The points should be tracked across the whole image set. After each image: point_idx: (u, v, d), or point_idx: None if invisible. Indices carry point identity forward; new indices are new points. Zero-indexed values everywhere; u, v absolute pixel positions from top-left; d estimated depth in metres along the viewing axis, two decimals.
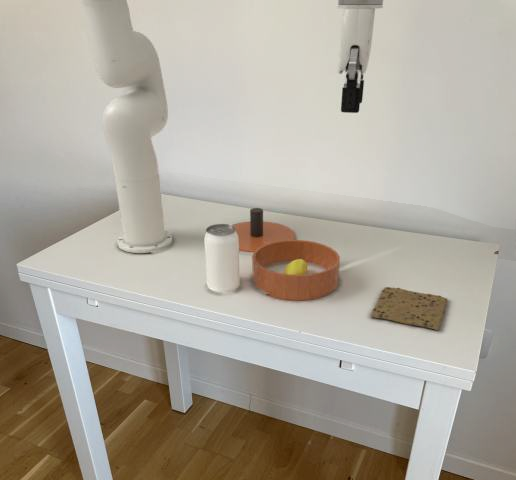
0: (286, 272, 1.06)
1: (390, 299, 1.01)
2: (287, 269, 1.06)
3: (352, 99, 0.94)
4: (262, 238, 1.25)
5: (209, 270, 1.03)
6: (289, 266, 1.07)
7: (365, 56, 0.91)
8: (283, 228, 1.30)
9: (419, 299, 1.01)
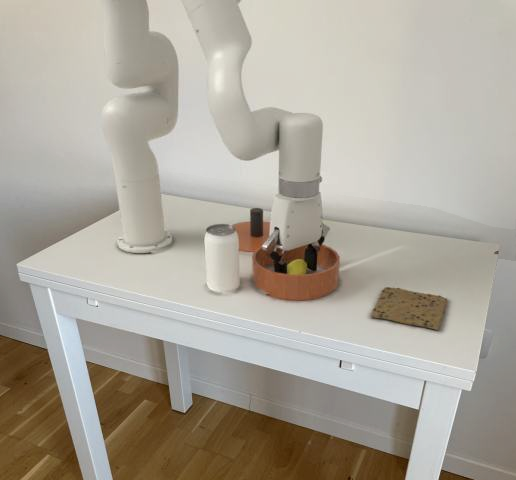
0: None
1: (390, 298, 1.01)
2: (287, 269, 1.06)
3: (277, 271, 1.05)
4: (262, 238, 1.25)
5: (209, 270, 1.03)
6: (289, 266, 1.07)
7: (284, 238, 1.00)
8: None
9: (419, 299, 1.01)
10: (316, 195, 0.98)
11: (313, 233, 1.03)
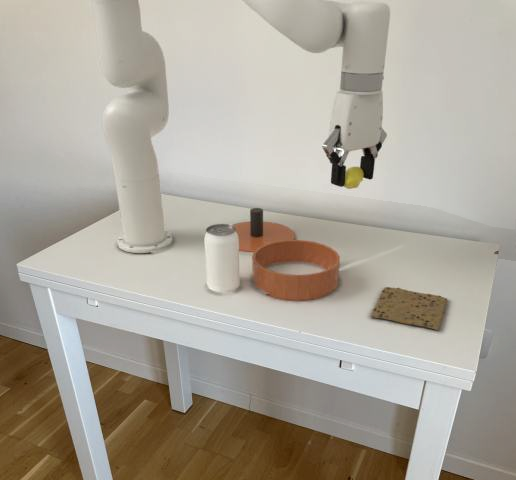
0: None
1: (390, 299, 1.01)
2: (345, 174, 1.04)
3: (335, 174, 1.03)
4: (262, 238, 1.25)
5: (209, 270, 1.03)
6: (346, 171, 1.05)
7: (345, 136, 0.98)
8: (283, 228, 1.30)
9: (419, 299, 1.01)
10: (379, 90, 0.96)
11: (373, 135, 1.02)
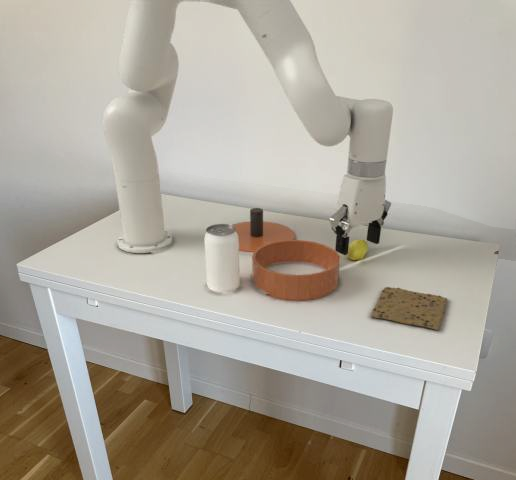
0: (350, 250, 1.15)
1: (390, 299, 1.01)
2: (351, 248, 1.15)
3: (340, 244, 1.13)
4: (262, 238, 1.25)
5: (209, 270, 1.03)
6: (352, 245, 1.16)
7: (352, 215, 1.09)
8: (283, 228, 1.30)
9: (419, 299, 1.01)
10: (383, 175, 1.07)
11: (376, 211, 1.12)
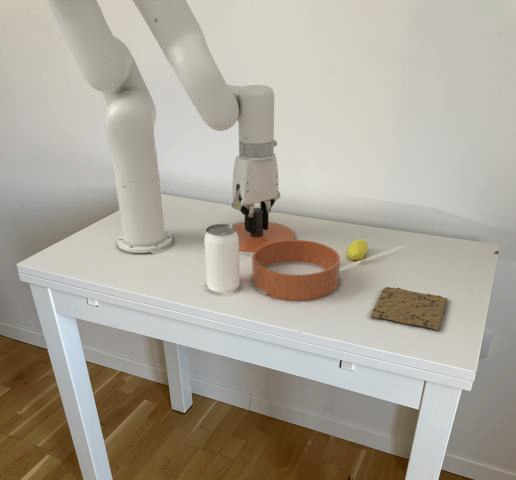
0: (350, 250, 1.15)
1: (390, 299, 1.01)
2: (351, 248, 1.15)
3: (247, 224, 1.23)
4: (262, 238, 1.25)
5: (209, 270, 1.03)
6: (352, 245, 1.16)
7: (244, 193, 1.17)
8: (283, 228, 1.30)
9: (419, 299, 1.01)
10: (270, 156, 1.15)
11: (270, 190, 1.21)
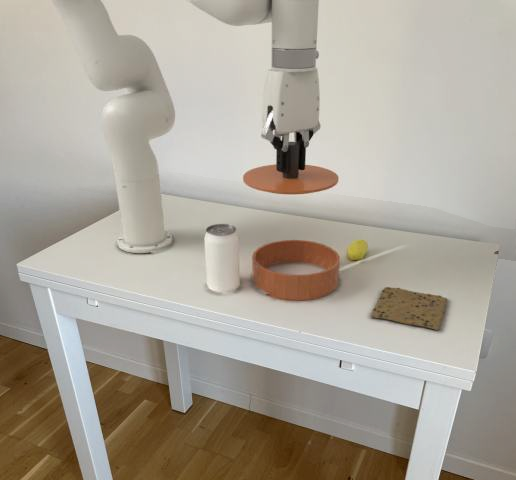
0: (350, 250, 1.15)
1: (390, 298, 1.01)
2: (351, 248, 1.15)
3: (280, 160, 0.98)
4: (298, 180, 1.00)
5: (209, 270, 1.03)
6: (352, 245, 1.16)
7: (278, 117, 0.92)
8: (322, 170, 1.05)
9: (419, 299, 1.01)
10: (312, 67, 0.90)
11: (309, 116, 0.95)
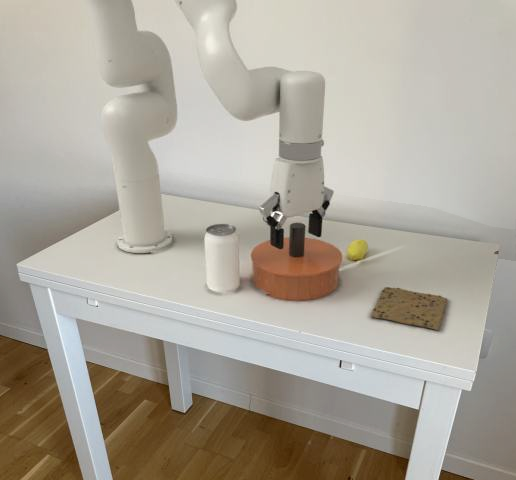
0: (350, 250, 1.15)
1: (390, 298, 1.01)
2: (351, 248, 1.15)
3: (274, 237, 1.00)
4: (304, 259, 1.04)
5: (209, 270, 1.03)
6: (352, 245, 1.16)
7: (284, 203, 0.96)
8: (327, 246, 1.09)
9: (419, 299, 1.01)
10: (318, 158, 0.94)
11: (314, 200, 1.00)
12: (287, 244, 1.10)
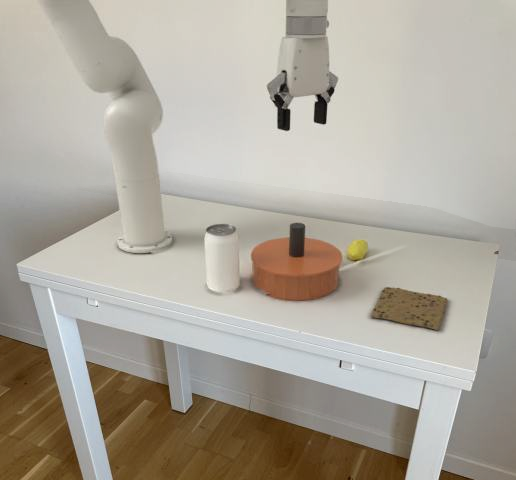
0: (350, 250, 1.15)
1: (390, 298, 1.01)
2: (351, 248, 1.15)
3: (280, 118, 1.04)
4: (304, 259, 1.04)
5: (209, 270, 1.03)
6: (352, 245, 1.16)
7: (291, 81, 1.00)
8: (327, 246, 1.09)
9: (419, 299, 1.01)
10: (323, 35, 0.98)
11: (320, 81, 1.04)
12: (287, 244, 1.10)
